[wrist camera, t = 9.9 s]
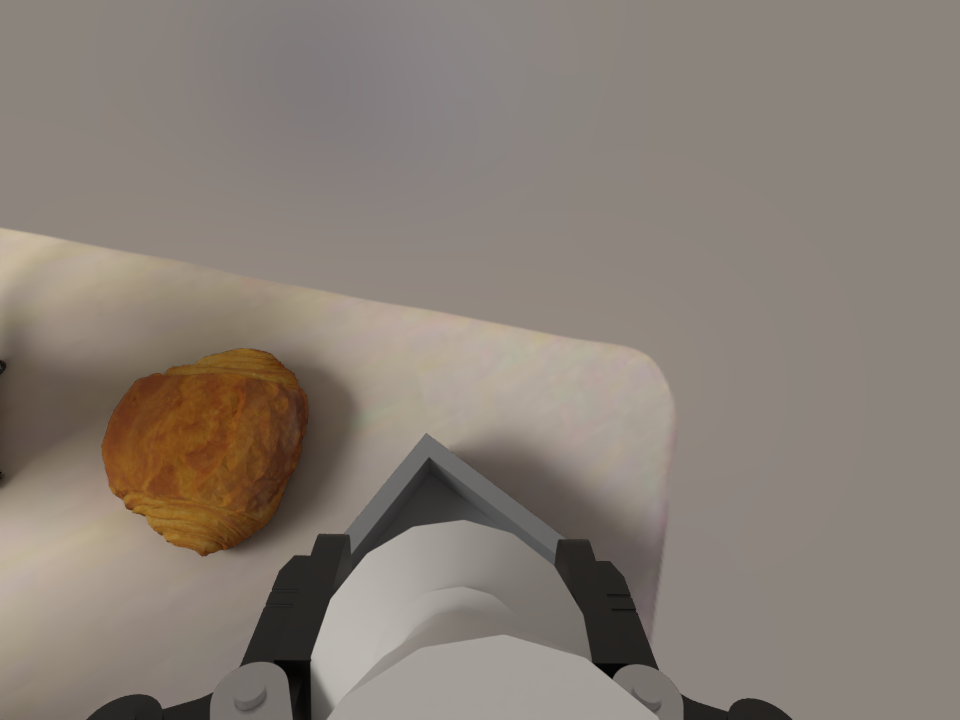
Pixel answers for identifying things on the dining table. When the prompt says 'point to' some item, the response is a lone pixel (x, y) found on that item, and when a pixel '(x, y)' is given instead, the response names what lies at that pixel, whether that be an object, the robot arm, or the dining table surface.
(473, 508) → the charcoal tub
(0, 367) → the coffee press
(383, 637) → the bottle
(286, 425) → the croissant
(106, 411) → the dining table surface
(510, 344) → the dining table surface
